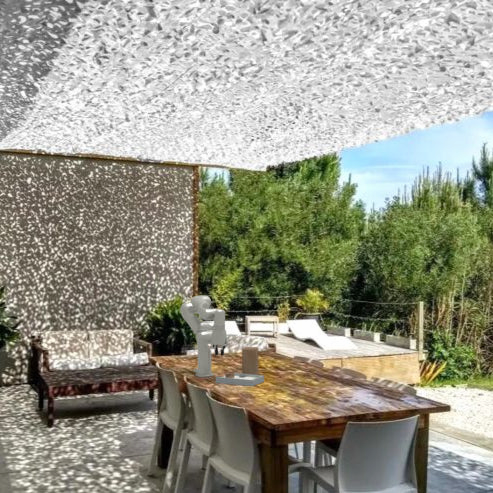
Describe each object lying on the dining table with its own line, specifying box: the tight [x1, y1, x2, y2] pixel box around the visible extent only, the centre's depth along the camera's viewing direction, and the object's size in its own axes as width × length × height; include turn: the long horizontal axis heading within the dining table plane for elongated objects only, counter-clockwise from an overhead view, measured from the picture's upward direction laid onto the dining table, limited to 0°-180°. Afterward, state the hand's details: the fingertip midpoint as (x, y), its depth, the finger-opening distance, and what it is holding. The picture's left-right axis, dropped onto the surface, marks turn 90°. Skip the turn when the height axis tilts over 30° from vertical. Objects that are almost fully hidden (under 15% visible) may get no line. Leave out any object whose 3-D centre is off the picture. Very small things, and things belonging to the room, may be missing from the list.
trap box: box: [215, 372, 265, 387], centre depth 421 cm, size 27×18×4 cm, turn 64°
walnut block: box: [224, 372, 235, 378], centre depth 425 cm, size 4×4×3 cm
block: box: [241, 346, 259, 375], centre depth 444 cm, size 10×10×20 cm
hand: (219, 354), depth 428 cm, fingers open, 3 cm apart
